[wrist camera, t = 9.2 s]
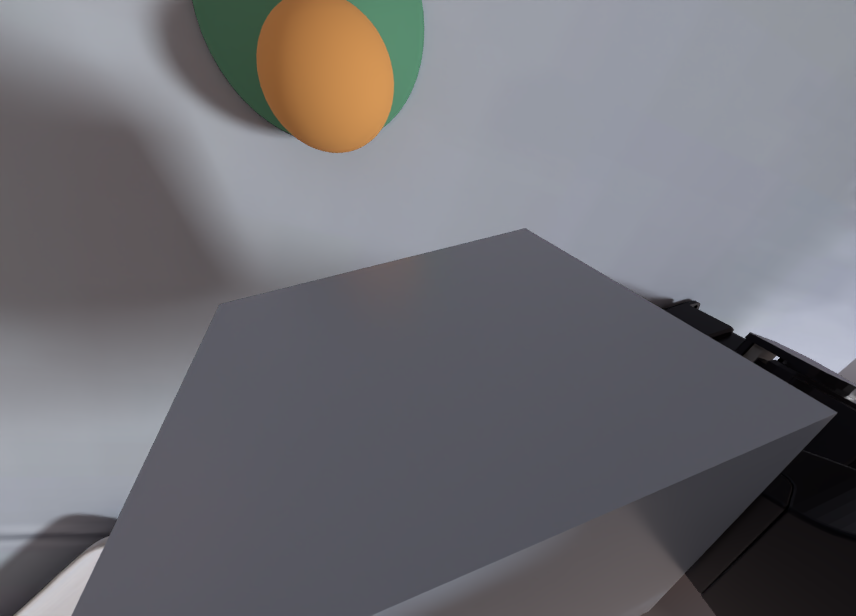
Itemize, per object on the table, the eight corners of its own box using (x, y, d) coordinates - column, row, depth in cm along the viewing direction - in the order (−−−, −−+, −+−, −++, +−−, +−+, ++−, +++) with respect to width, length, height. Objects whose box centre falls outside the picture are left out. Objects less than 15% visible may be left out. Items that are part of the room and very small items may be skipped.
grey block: (516, 410, 13) (648, 611, 8) (324, 478, 12) (333, 772, 6) (525, 228, 9) (837, 412, 3) (219, 304, 7) (-6, 779, 2)
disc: (433, 128, 17) (434, 128, 16) (251, 158, 15) (250, 158, 15) (405, -152, 12) (406, -155, 11) (131, -150, 10) (129, -154, 10)
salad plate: (333, 549, 35) (334, 586, 32) (200, 645, 38) (190, 688, 35) (120, 495, 23) (93, 547, 21) (-53, 640, 26) (-99, 705, 23)
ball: (367, -59, 11) (376, 76, 16) (212, -42, 10) (272, 95, 15) (414, 60, 10) (407, 163, 15) (249, 90, 9) (299, 189, 14)
